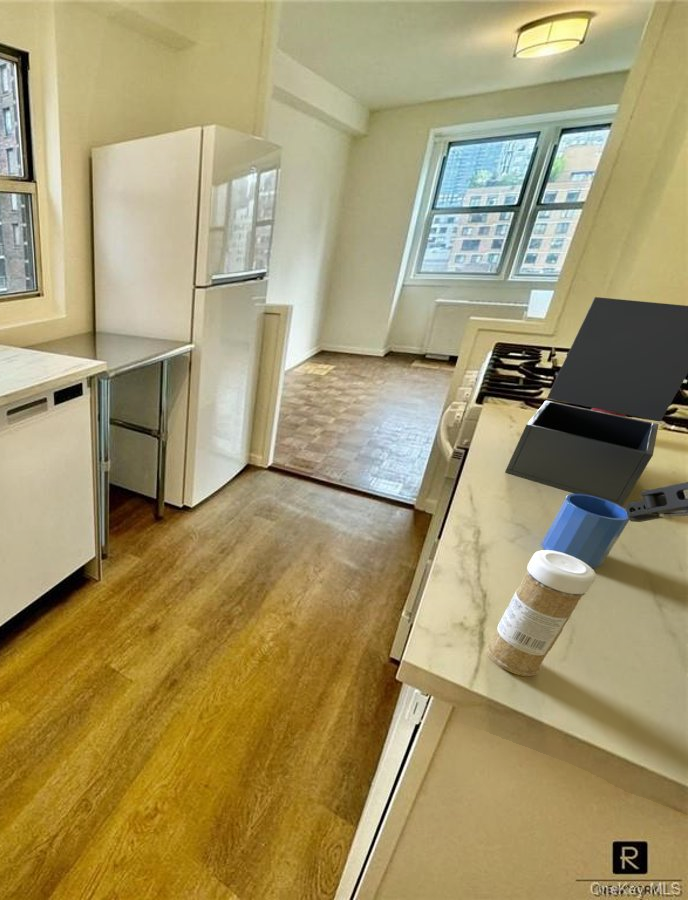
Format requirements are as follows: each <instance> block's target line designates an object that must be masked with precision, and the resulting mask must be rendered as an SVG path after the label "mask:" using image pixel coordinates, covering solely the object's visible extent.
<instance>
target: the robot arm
mask: <svg viewBox="0 0 688 900" xmlns="http://www.w3.org/2000/svg"><path fill="white" fill-rule="evenodd" d="M640 494H641V497H642V499H640V500H636V501H632V502H631V501H630V502H627V503H626V504H625V509H626V511H627V515H628V519H629V521H630V522H634V523H642V522H647V521H654V520H659V519H665V518H666V519H669V518H675V517H688V481H684V482H680V483H675V484H671V485H666V486H662V487H656V488H653V489H646V490H643V491H641V492H640Z"/></svg>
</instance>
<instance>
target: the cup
mask: <svg viewBox="0 0 688 900" xmlns="http://www.w3.org/2000/svg"><path fill="white" fill-rule="evenodd" d="M629 521H630V520H629V519H628V515H627V511H626V508H624V507H623V506H622V507H621V506H619V505H617V504H615V503H613V502H610V501H608V500H605V499H602V498H598V497H595V496H590V495H585V494H576V493H570V494H567V495H566V496H565V498H564V500H563V502H562V504H561V505H560V508H559V510H558V511H557V513H556V515H555V517H554V519H553V521H552V523H551V525H550V527H549V528H548V530H547V532H546V533H545V536H544V537H543V540H542V541H541V546H542V548H543V550H551V551H557V552H561V553H565V554H568V555H570V556H573V557H575V558H577V559H579V560H581V561H583V562H584V563H586V564H587V565H589V566H590V567H591V568H592V569H596V568H597V569H598V568H600V567H601V566H602V564H603V563H604V562H605V560H606V559H607V557H608V556H609V554H610V552H611V551H612V549H613V548H614V545H615V544H616V543H617V541H618V539H619V538H620V536H621V535H622V533H623V531H624V530H625V528H626V526H627V525H628V523H629Z"/></svg>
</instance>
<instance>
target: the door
mask: <svg viewBox="0 0 688 900" xmlns="http://www.w3.org/2000/svg"><path fill="white" fill-rule="evenodd" d="M687 375H688V305H684V304H673V303H661V302H652V301H643V300H641V301H640V300H630V299H620V298H610V297H609V298H607V297H599V296H595V297H594V298H593V299H592V303H591V304H590V307H589V308H588V311H587V313H586V315H585V317H584V319H583V321H582V323H581V324H580V328H579V329H578V332H577V334H576V335H575V338H574V340H573V342H572V344H571V346H570V348H569V350H568V353H567V355H566V357H565V358H564V361H563V362H562V365H561V367H560V369H559V371H558V373H557V376H556V378H555V380H554V382H553V384H552V386H551V389H550V390H549V393H548V395H547V397H546V399H549V400H553V401H558V402H563V403H567V404H573V405H578V406H582V407H587V408H590V409H592V408H596V409H601V410H606V411H611V412H616V413H620V414H625V416H631V417H634V418H640V419H645V420H650V421H655V422H659V423H660V422H661V421H662V420H663V418H664V416H665V415H666V413H667V411H668V409H669V408H670V405H671V404H672V402H673V401H674V399H675V396H676V395H677V393H678V391H679V390H680V388H681V386H682V384H683V383H684V381H685V379H686V378H687Z"/></svg>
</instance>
